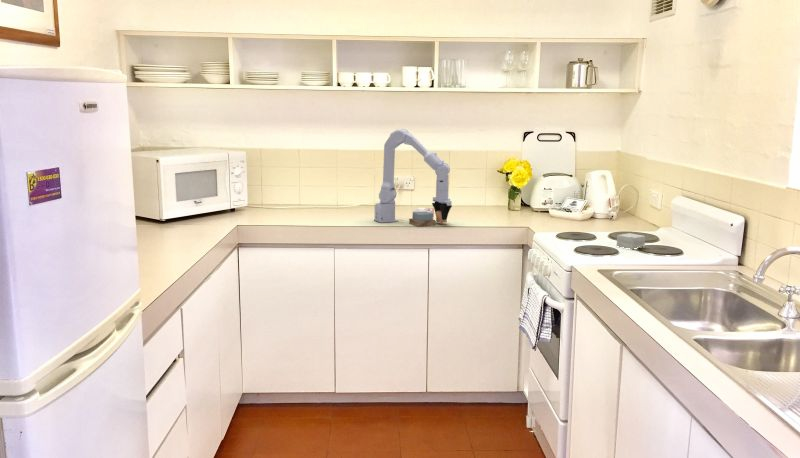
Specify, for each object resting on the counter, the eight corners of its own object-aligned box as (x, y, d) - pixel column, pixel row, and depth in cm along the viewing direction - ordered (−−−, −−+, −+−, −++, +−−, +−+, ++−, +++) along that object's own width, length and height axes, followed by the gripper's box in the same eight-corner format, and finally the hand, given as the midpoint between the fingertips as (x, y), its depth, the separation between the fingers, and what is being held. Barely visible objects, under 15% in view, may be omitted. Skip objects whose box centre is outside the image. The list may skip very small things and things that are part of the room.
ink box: (433, 207, 331) (430, 211, 320) (433, 217, 332) (429, 222, 321) (416, 207, 333) (412, 211, 322) (416, 217, 334) (412, 221, 322)
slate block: (419, 221, 309) (419, 214, 309) (412, 218, 315) (412, 212, 315) (432, 220, 312) (433, 213, 311) (426, 217, 318) (426, 211, 318)
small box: (628, 245, 275) (629, 232, 274) (644, 248, 269) (645, 235, 268) (615, 247, 271) (616, 234, 270) (632, 250, 265) (633, 238, 264)
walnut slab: (418, 228, 308) (418, 221, 308) (409, 224, 316) (409, 218, 316) (435, 226, 312) (435, 220, 312) (426, 223, 320) (426, 217, 320)
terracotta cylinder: (439, 223, 313) (439, 212, 312) (434, 221, 317) (434, 210, 316) (448, 222, 315) (448, 211, 314) (443, 220, 319) (443, 210, 318)
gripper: (457, 191, 308) (456, 220, 311) (442, 187, 321) (441, 215, 324) (444, 192, 305) (443, 221, 308) (429, 188, 318) (428, 216, 321)
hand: (441, 218), depth 316 cm, fingers closed on terracotta cylinder, 5 cm apart
